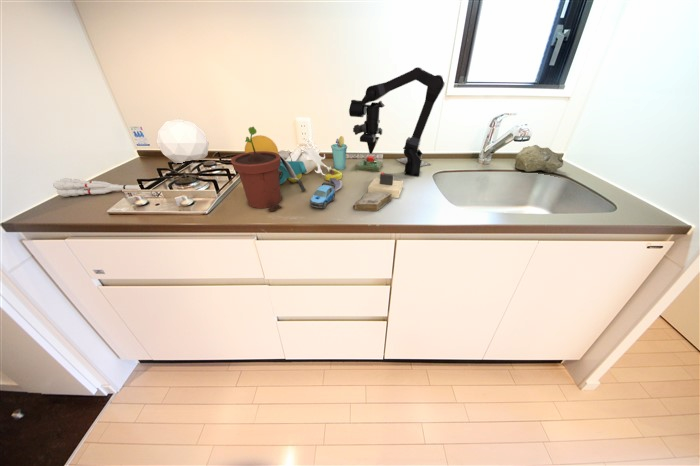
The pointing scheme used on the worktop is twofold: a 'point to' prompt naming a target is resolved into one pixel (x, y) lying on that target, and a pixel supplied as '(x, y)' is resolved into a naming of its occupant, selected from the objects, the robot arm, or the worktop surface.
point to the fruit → (296, 177)
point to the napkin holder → (406, 161)
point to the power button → (370, 158)
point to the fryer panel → (386, 187)
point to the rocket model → (87, 187)
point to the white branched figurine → (312, 158)
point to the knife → (334, 178)
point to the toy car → (323, 196)
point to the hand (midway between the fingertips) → (370, 153)
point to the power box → (370, 165)
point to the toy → (261, 144)
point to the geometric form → (182, 141)
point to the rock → (538, 159)
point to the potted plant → (261, 176)
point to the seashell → (284, 155)
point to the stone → (372, 201)
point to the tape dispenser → (296, 167)
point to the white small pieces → (295, 154)
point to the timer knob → (386, 179)
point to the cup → (339, 153)
